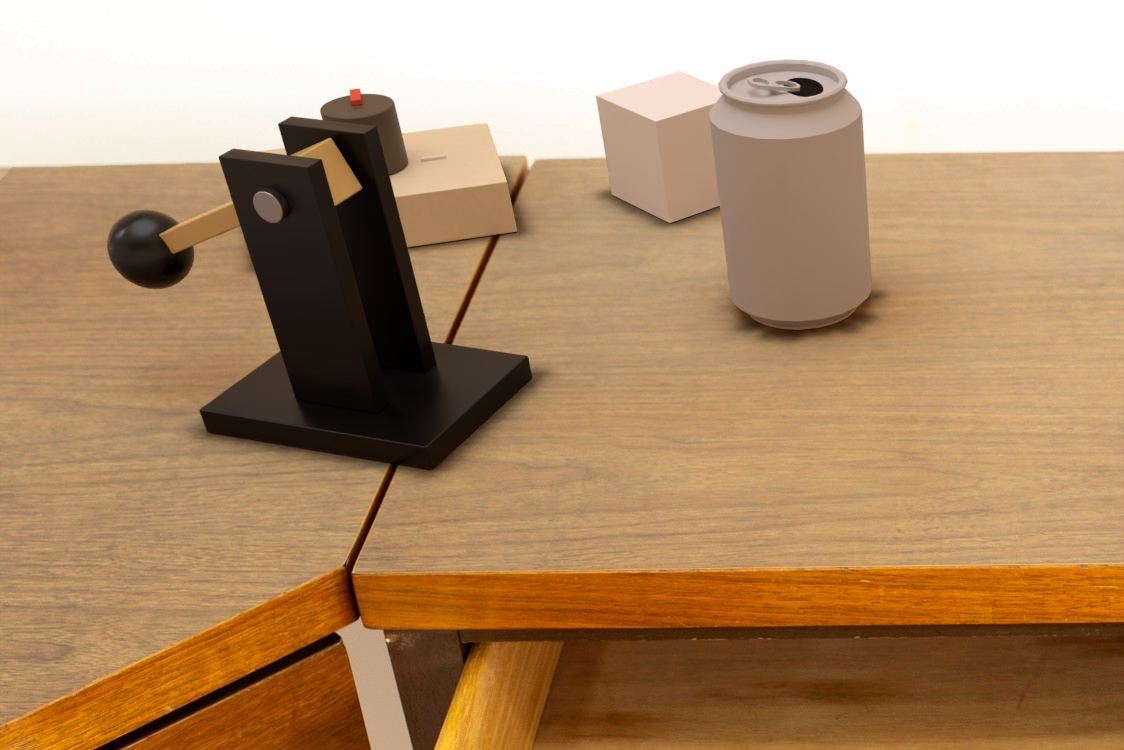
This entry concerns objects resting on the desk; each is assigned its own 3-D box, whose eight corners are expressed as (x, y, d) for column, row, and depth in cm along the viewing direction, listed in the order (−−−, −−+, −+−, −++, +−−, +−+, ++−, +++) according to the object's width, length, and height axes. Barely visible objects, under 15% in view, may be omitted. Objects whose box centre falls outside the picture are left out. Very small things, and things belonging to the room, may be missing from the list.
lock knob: (410, 174, 90) (394, 107, 88) (337, 183, 89) (318, 116, 87) (406, 149, 93) (391, 84, 91) (335, 158, 92) (317, 92, 90)
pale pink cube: (611, 195, 95) (595, 95, 92) (692, 168, 99) (679, 70, 95) (670, 223, 92) (655, 121, 88) (751, 194, 95) (741, 94, 92)
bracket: (206, 432, 74) (108, 164, 66) (322, 345, 80) (246, 92, 72) (432, 470, 71) (359, 196, 63) (532, 377, 78) (478, 118, 70)
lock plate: (260, 268, 87) (242, 214, 85) (258, 201, 95) (242, 150, 93) (517, 231, 91) (506, 178, 89) (497, 170, 99) (486, 119, 97)
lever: (125, 310, 74) (74, 240, 72) (177, 278, 77) (128, 209, 75) (332, 226, 68) (281, 147, 66) (380, 194, 70) (333, 118, 69)
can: (891, 322, 82) (880, 90, 75) (751, 347, 80) (725, 111, 73) (848, 265, 88) (834, 43, 80) (716, 287, 85) (688, 61, 78)
